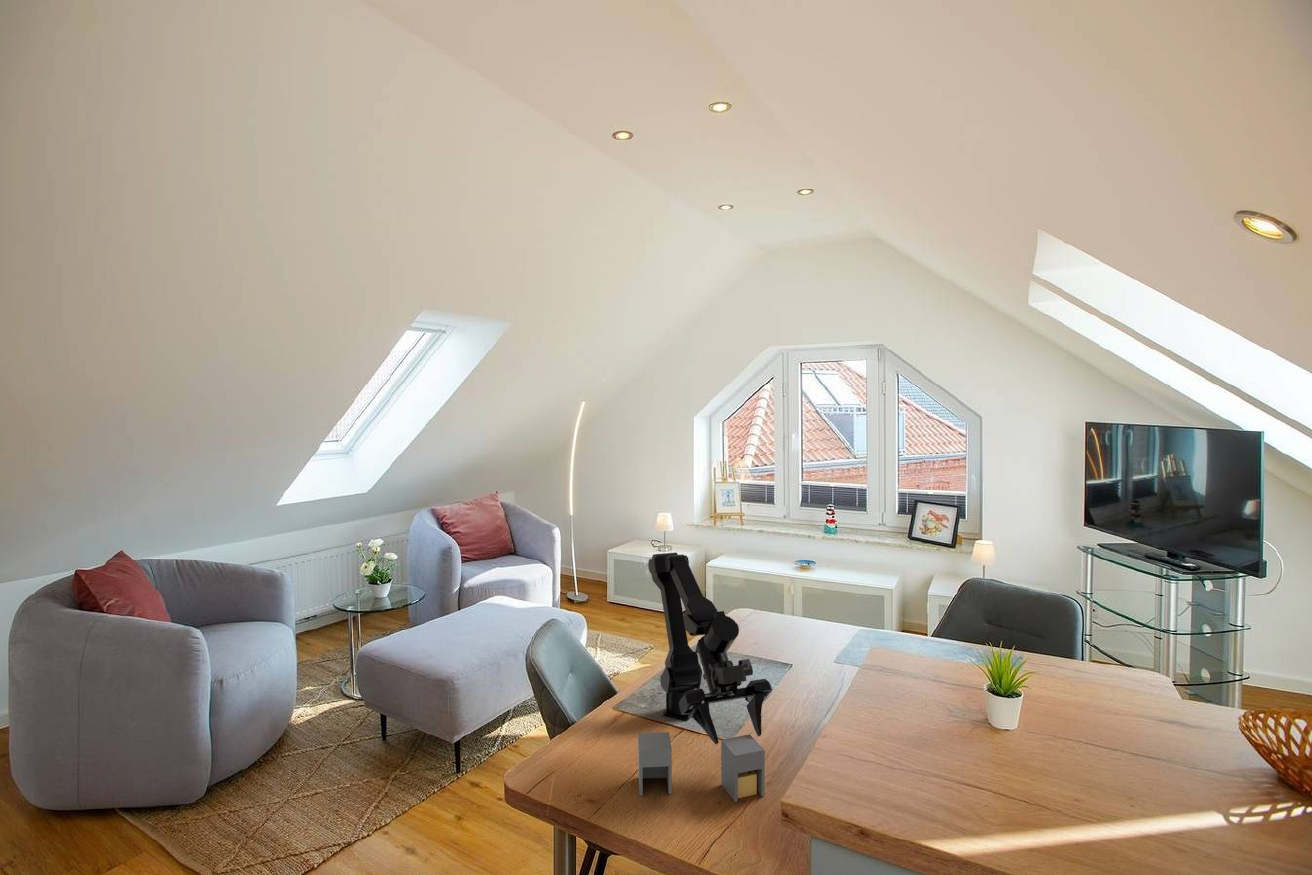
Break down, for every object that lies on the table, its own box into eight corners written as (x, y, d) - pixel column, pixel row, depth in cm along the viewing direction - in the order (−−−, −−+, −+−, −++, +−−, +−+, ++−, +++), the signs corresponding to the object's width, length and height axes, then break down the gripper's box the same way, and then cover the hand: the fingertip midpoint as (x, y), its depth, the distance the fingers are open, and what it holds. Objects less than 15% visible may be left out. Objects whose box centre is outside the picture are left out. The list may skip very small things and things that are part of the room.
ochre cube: (728, 786, 126) (728, 766, 126) (747, 782, 128) (747, 762, 128) (737, 798, 123) (737, 777, 122) (756, 794, 124) (756, 773, 124)
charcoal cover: (721, 784, 127) (721, 739, 127) (749, 778, 129) (749, 734, 129) (735, 802, 121) (734, 755, 121) (764, 795, 123) (764, 749, 123)
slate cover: (638, 776, 130) (638, 733, 129) (669, 775, 130) (668, 731, 130) (639, 795, 124) (639, 749, 123) (671, 794, 124) (671, 748, 124)
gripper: (683, 651, 128) (705, 732, 118) (768, 640, 134) (796, 716, 124) (670, 675, 136) (690, 753, 126) (750, 663, 141) (775, 737, 131)
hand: (738, 739), depth 126 cm, fingers open, 9 cm apart
